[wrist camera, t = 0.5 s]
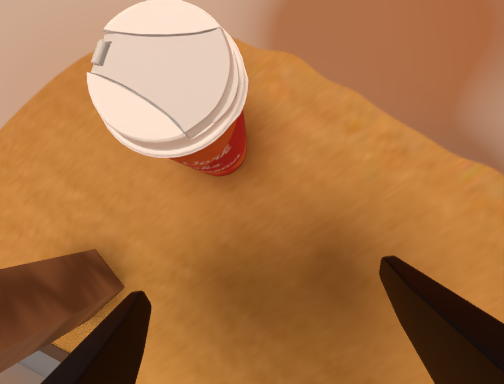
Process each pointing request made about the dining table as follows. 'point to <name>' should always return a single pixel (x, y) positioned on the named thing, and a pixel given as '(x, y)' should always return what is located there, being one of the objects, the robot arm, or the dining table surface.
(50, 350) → the socket board
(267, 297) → the dining table surface
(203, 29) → the paper cup
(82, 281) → the tall wooden pillar
